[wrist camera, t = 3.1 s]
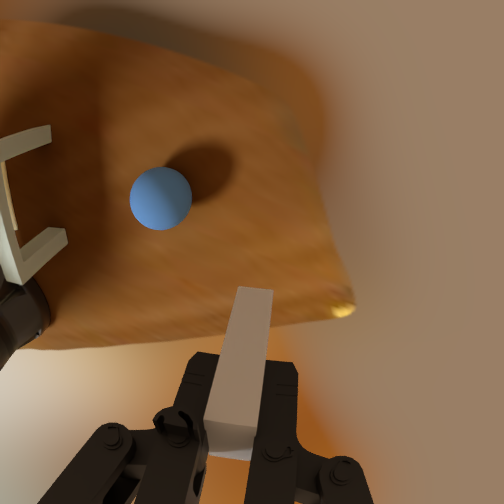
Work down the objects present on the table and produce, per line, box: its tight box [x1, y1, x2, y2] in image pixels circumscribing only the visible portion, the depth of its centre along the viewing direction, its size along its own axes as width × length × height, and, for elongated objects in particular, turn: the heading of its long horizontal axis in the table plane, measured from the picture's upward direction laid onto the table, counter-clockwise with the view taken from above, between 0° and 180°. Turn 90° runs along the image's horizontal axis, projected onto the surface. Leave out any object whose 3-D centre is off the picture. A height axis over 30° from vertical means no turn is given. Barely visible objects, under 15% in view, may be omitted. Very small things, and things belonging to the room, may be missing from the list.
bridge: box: [0, 125, 68, 285], centre depth 26 cm, size 3×14×9 cm, turn 177°
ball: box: [130, 167, 192, 230], centre depth 26 cm, size 6×6×6 cm
